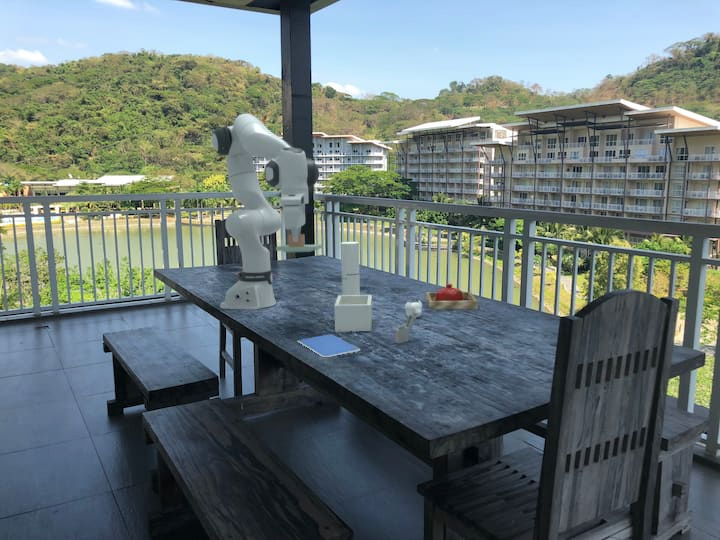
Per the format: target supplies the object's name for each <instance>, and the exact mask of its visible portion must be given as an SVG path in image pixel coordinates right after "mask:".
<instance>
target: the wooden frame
mask: <svg viewBox="0 0 720 540" xmlns="http://www.w3.org/2000/svg"><path fill="white" fill-rule="evenodd" d="M437 292H438V291H437ZM437 292H436V291H435V292H434V291H429V292H428V291H427V292H425V301H426V304H427V303H428V304H427V306H429V307H428V310H478V308H479V306H478V305H479V301H478V300H477V298H476V297H475V295H474V294H473V292H472V291H462V295H463V299H468V300H467V301H435V300H436V294H437Z"/></svg>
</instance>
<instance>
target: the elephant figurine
mask: <svg viewBox="0 0 720 540" xmlns="http://www.w3.org/2000/svg"><path fill="white" fill-rule="evenodd" d="M404 308H405V313H406V316H407V317H408V318H409V315H413V316H415V317H416V318H418V317H419V316H421V314H423V312H422V309H423V303H422V302H421V301H420V300H418V301H415V302H410V301H409V302H408V301H407V302H406V303H405V305H404Z"/></svg>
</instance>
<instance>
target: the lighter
mask: <svg viewBox="0 0 720 540" xmlns="http://www.w3.org/2000/svg"><path fill="white" fill-rule="evenodd" d="M416 319H417V317H415V316H413V315H409V317H408V318H407V321H406V324H405V325H404V324H401V325H398V327H397V328H395V329H394V341H395V342H394V343H395V344H397V343H398V345H399V344H404V343H408V342H409V329H411V330H412V329H413V327H414V325H415V321H416Z"/></svg>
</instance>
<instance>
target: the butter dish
mask: <svg viewBox="0 0 720 540" xmlns="http://www.w3.org/2000/svg"><path fill="white" fill-rule="evenodd" d="M445 286H446V287H443V288H441V289H439V290H438V291H437V294H436V300H434V301H468V300H463V295H462V292H463V291H462V290H461V289H460V288H457V287H456V288H455V287H453V283H447V284H445Z"/></svg>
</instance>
